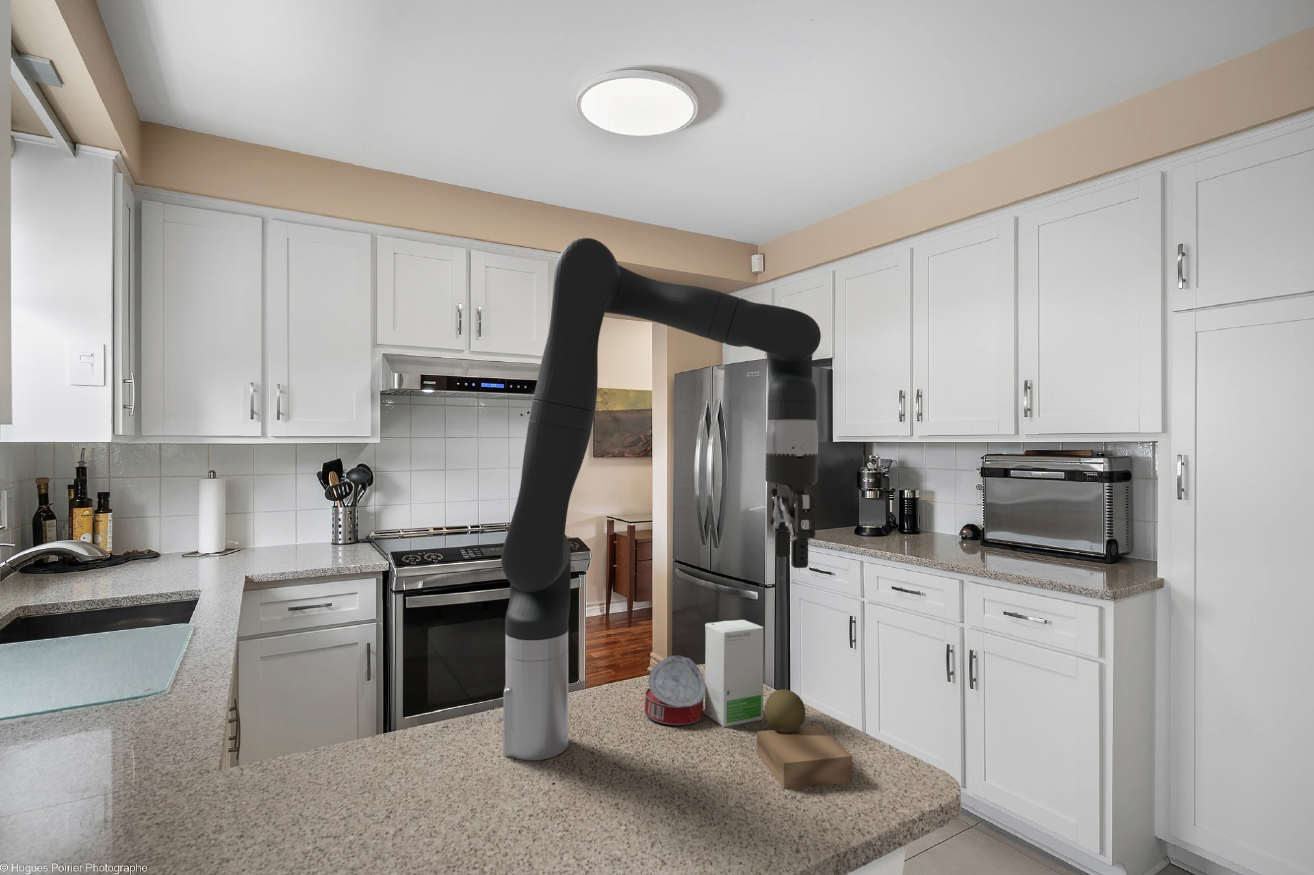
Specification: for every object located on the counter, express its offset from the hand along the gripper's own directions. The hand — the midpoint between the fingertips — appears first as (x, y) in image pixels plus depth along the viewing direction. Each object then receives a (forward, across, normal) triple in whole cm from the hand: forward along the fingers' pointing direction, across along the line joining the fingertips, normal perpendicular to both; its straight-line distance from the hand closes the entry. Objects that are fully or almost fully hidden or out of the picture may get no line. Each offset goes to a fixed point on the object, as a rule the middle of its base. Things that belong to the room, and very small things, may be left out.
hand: (790, 561), depth 98 cm
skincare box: (+29, -16, -5) cm, 34 cm away
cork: (+22, -1, 0) cm, 22 cm away
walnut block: (+29, +3, +1) cm, 30 cm away
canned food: (+30, -18, -17) cm, 39 cm away
